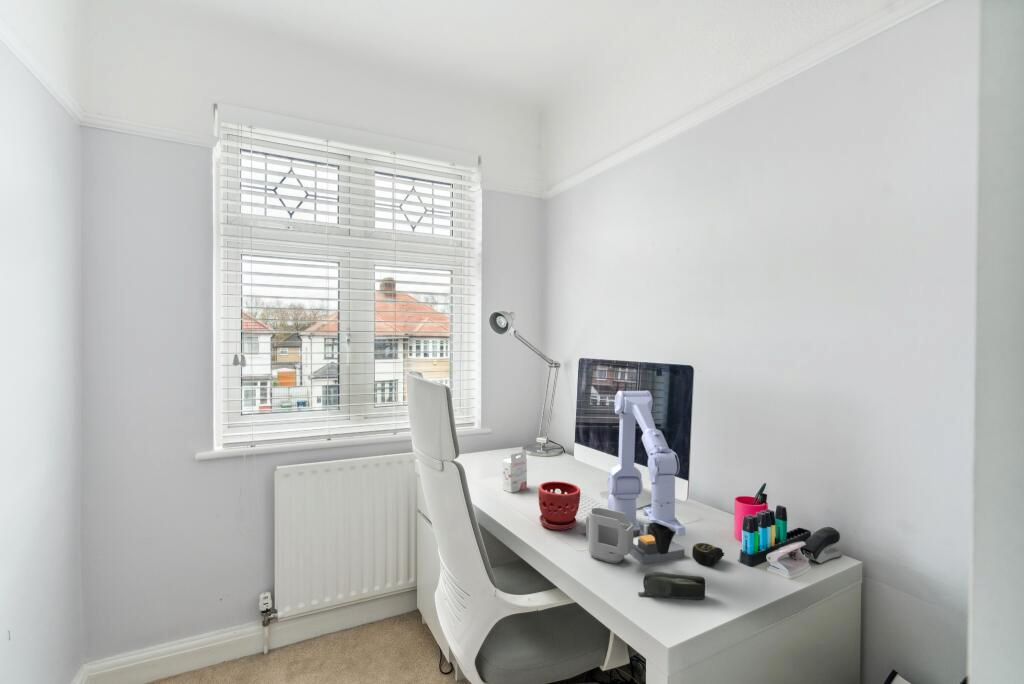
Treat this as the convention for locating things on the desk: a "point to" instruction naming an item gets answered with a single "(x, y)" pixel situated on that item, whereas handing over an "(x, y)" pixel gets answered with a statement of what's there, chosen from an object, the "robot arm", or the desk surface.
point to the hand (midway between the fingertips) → (662, 552)
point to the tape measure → (706, 553)
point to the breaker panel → (644, 558)
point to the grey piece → (609, 534)
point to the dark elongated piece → (673, 586)
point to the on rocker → (643, 527)
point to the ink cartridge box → (515, 473)
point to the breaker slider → (647, 544)
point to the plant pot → (558, 505)
